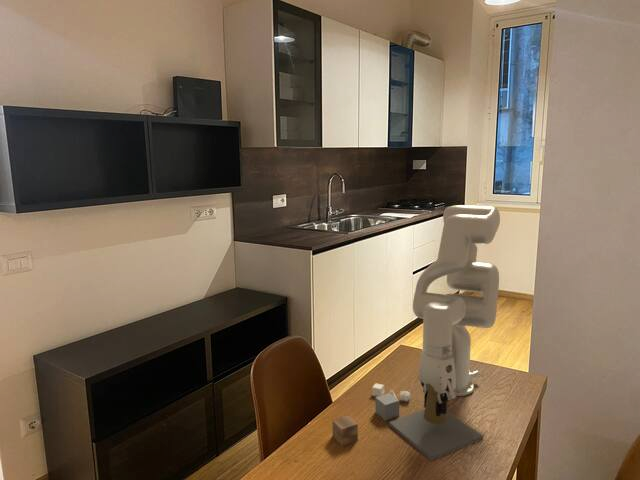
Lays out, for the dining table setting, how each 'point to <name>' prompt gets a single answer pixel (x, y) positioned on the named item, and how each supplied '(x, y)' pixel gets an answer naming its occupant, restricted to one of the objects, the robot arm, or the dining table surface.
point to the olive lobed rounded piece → (432, 407)
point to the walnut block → (345, 430)
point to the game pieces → (379, 390)
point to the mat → (435, 434)
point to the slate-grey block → (387, 406)
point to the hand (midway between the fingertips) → (435, 409)
